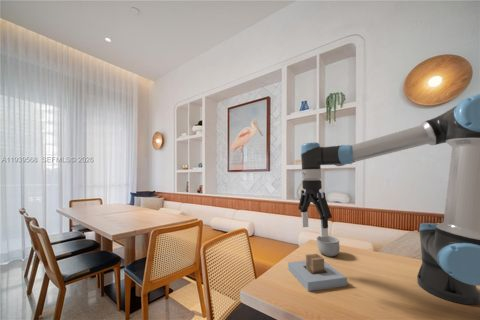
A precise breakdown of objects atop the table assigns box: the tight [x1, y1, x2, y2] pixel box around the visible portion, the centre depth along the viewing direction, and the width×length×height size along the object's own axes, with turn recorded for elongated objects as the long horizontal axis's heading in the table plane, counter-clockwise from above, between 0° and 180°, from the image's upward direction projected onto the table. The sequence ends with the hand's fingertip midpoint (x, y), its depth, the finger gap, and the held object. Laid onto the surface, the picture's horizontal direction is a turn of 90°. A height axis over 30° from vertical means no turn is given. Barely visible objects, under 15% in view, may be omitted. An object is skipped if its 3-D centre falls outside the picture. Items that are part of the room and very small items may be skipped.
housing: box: [287, 260, 348, 292], centre depth 78 cm, size 16×16×3 cm
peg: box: [305, 253, 325, 275], centre depth 78 cm, size 5×5×8 cm
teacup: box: [316, 235, 341, 257], centre depth 101 cm, size 14×11×8 cm
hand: (314, 231), depth 79 cm, fingers open, 13 cm apart
